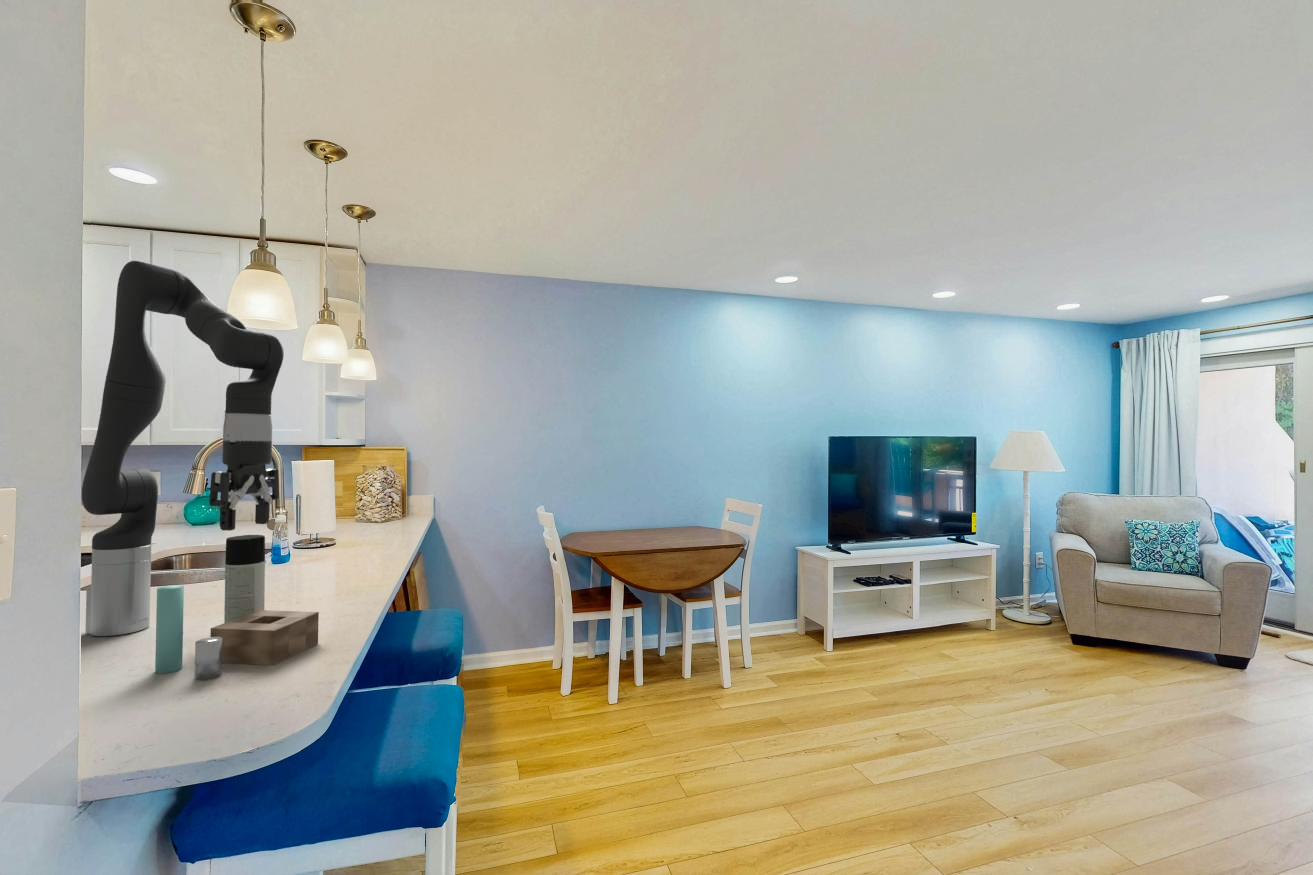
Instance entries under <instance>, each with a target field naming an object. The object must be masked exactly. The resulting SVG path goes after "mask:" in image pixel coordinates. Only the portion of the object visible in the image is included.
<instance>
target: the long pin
mask: <svg viewBox="0 0 1313 875" xmlns="http://www.w3.org/2000/svg"><path fill="white" fill-rule="evenodd" d="M184 591H185V585H183V584H172V585H165V586H161V587H160V586H159V587H157V588H156V611H155V612H156V615H155V619H156V620H155V621H156V622H155V624H156V625H155V656H154V657H155V658H154V659H155V660H154V662H155V663H154V665H155V666H154V667H155V668H154V670H155V672H154V673H155V674H159V675H161V674H163V675H165V674H171V673H174V672H178V671H180V670H181V669H183V653H184V652H183V651H184V650H183V647H184V646H183V645H184V644H183V642H184V608H185V607H184V603H185V602H184V601H185V600H184V599H185V597H184V595H185V592H184Z"/></svg>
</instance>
